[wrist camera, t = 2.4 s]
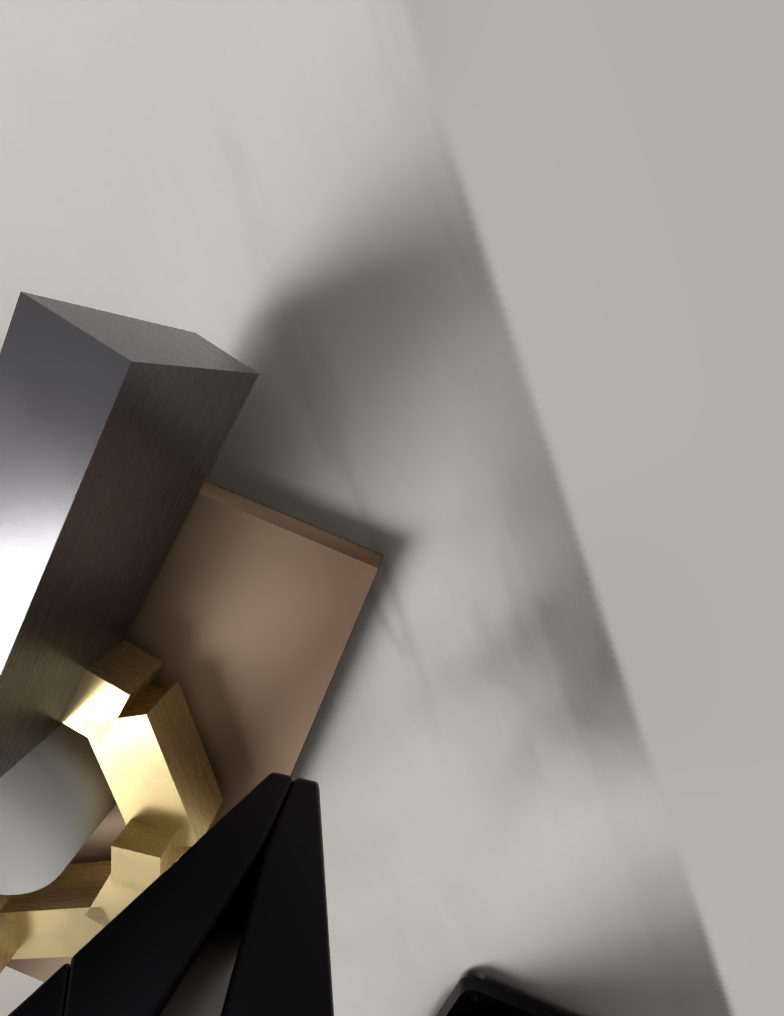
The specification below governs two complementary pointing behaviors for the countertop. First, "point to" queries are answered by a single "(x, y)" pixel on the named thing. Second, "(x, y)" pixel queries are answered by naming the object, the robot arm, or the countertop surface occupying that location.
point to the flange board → (201, 678)
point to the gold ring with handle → (101, 583)
